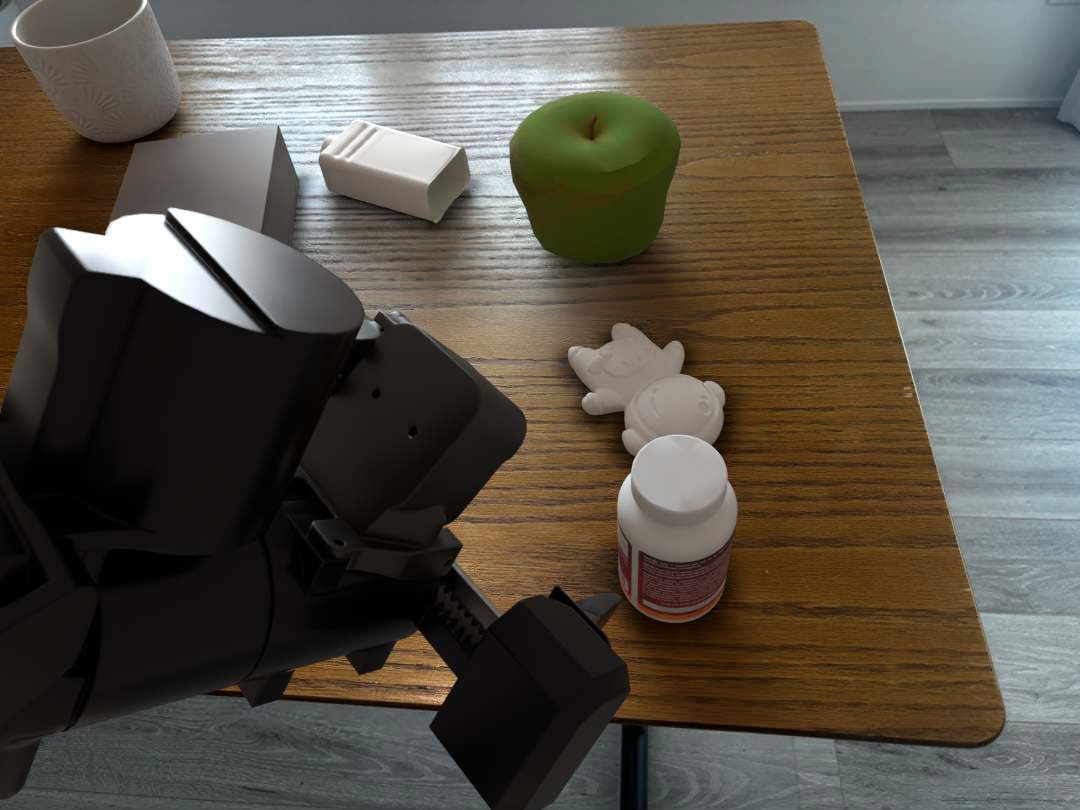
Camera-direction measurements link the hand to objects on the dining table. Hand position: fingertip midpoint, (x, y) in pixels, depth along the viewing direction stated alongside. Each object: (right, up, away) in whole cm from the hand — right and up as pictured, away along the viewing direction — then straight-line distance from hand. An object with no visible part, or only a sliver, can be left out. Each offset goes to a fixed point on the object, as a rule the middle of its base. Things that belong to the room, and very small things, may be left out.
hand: (542, 532), depth 37 cm
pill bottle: (+8, -5, +13) cm, 16 cm away
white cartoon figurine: (+7, +6, +21) cm, 23 cm away
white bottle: (-13, +25, +38) cm, 47 cm away
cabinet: (-27, +18, +34) cm, 47 cm away
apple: (+5, +19, +32) cm, 38 cm away
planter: (-42, +35, +49) cm, 73 cm away
